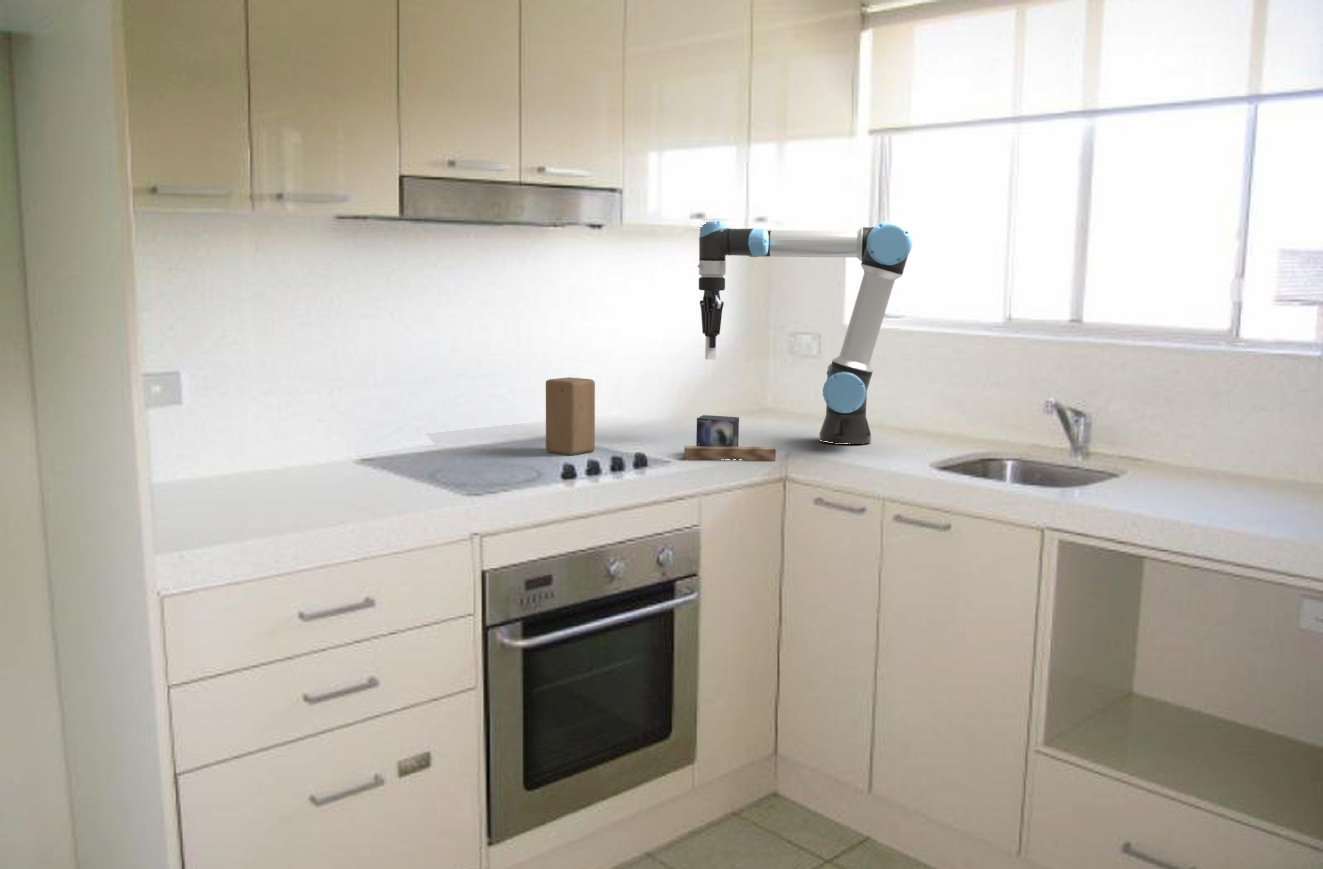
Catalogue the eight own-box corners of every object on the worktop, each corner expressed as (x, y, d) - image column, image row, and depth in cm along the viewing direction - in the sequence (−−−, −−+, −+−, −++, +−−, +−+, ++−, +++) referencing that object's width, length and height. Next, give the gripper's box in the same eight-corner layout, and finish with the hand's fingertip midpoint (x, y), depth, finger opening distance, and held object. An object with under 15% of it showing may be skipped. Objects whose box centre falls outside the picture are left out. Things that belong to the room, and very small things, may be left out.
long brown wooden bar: (773, 460, 295) (774, 447, 295) (775, 462, 291) (775, 449, 291) (684, 458, 295) (684, 445, 295) (684, 461, 291) (684, 448, 291)
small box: (694, 456, 298) (695, 417, 297) (701, 452, 304) (702, 414, 303) (732, 458, 295) (733, 419, 293) (739, 454, 301) (739, 416, 299)
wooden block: (571, 456, 295) (571, 381, 292) (544, 452, 301) (544, 379, 298) (596, 451, 303) (596, 379, 300) (569, 448, 309) (568, 376, 306)
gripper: (691, 276, 319) (690, 357, 323) (707, 276, 307) (706, 361, 310) (715, 276, 322) (714, 357, 325) (732, 276, 309) (731, 360, 313)
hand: (710, 359), depth 318 cm, fingers closed
